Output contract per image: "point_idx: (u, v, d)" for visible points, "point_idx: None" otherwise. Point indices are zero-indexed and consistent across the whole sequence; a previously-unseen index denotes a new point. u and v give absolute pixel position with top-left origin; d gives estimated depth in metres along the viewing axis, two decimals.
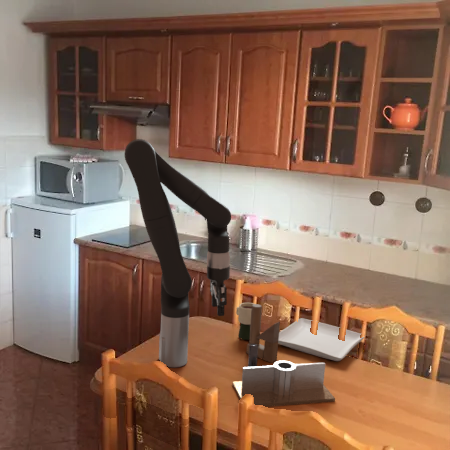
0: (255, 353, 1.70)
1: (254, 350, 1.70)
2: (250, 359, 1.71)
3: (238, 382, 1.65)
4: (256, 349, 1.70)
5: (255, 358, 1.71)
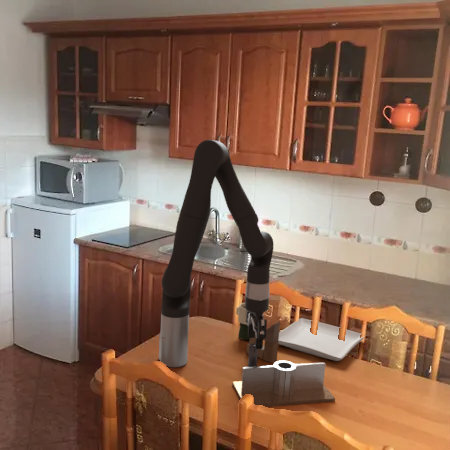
0: (255, 353, 1.70)
1: (254, 350, 1.70)
2: (250, 359, 1.71)
3: (238, 382, 1.65)
4: (256, 349, 1.70)
5: (255, 358, 1.71)
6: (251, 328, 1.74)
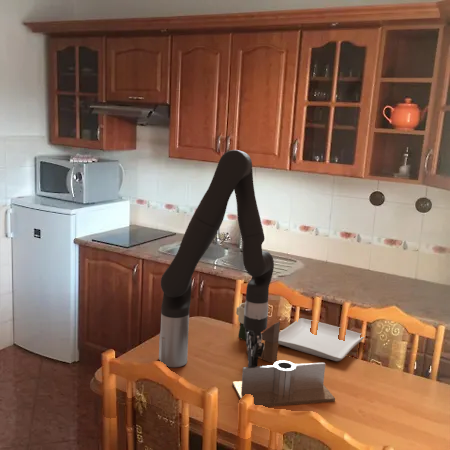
0: None
1: None
2: (250, 359, 1.71)
3: (238, 382, 1.65)
4: None
5: None
6: None
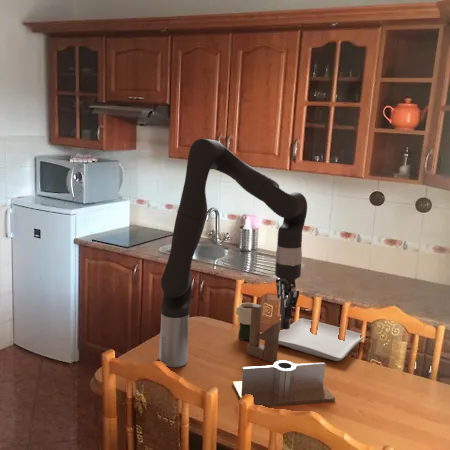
0: None
1: None
2: (283, 311, 1.58)
3: (238, 382, 1.65)
4: None
5: None
6: None
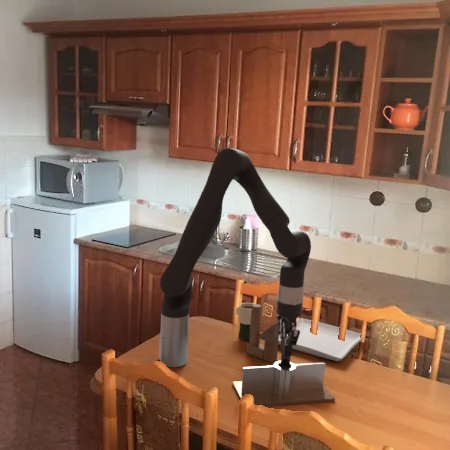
0: None
1: None
2: None
3: (238, 382, 1.65)
4: None
5: None
6: None
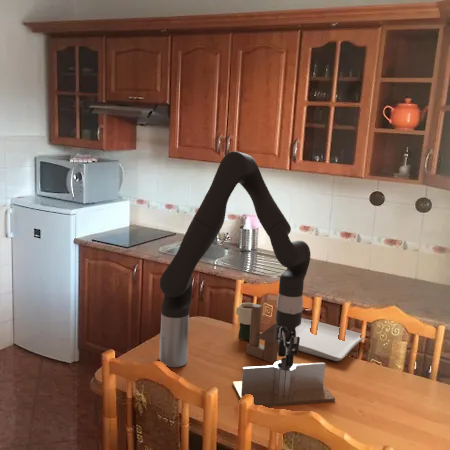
0: (288, 368, 1.59)
1: None
2: None
3: (238, 382, 1.65)
4: None
5: None
6: (282, 346, 1.62)
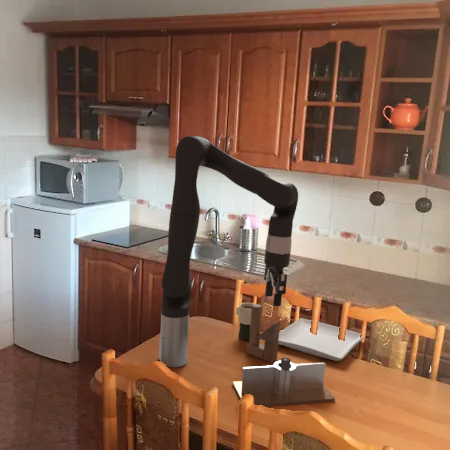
0: (288, 368, 1.59)
1: (286, 365, 1.58)
2: None
3: (238, 382, 1.65)
4: (288, 364, 1.59)
5: None
6: (269, 286, 1.65)
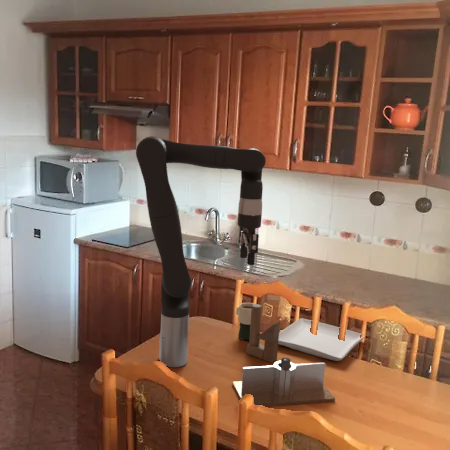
0: (288, 367, 1.59)
1: (286, 365, 1.58)
2: None
3: (238, 382, 1.65)
4: (288, 364, 1.59)
5: None
6: (243, 248, 1.75)
